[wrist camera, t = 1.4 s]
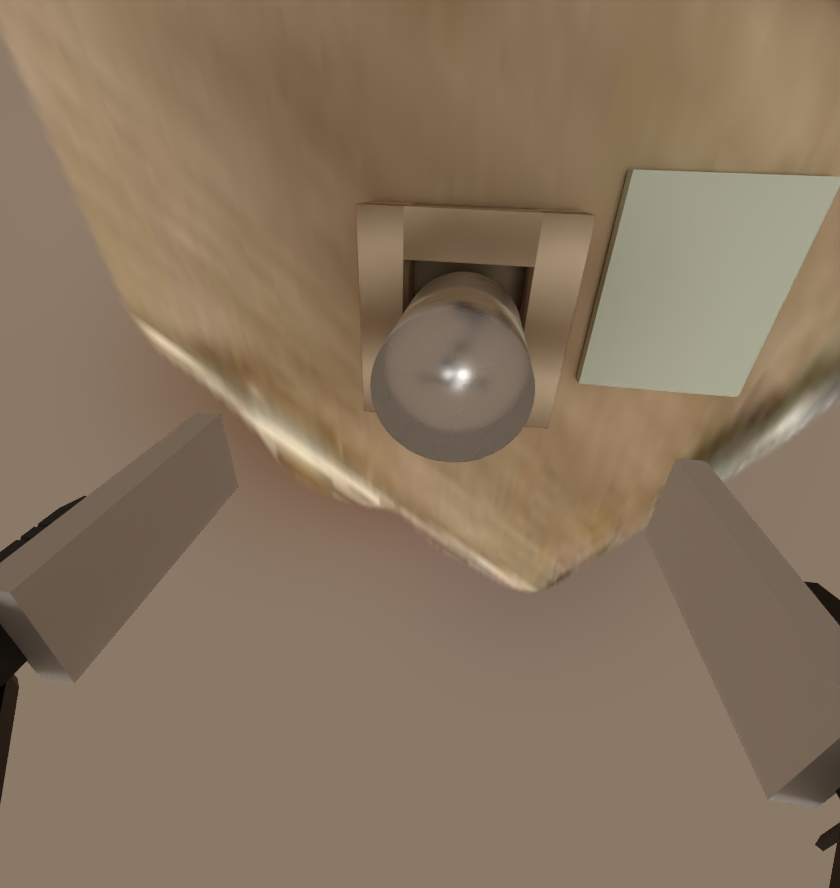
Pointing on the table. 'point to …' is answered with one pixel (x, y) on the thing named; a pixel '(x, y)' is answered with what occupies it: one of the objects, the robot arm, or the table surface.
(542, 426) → the bore block
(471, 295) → the metal cylinder
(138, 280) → the table surface
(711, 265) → the mat
